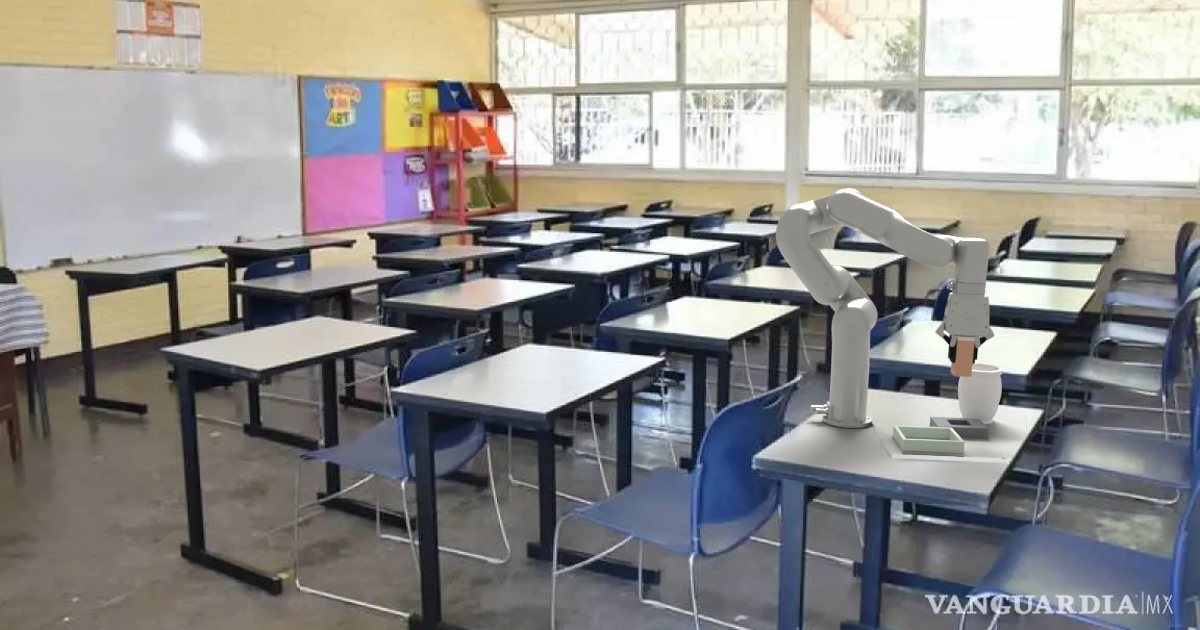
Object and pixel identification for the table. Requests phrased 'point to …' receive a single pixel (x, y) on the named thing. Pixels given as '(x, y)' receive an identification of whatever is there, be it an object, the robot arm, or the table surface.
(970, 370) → the plug
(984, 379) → the jar
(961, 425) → the grey block
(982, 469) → the table surface
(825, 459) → the table surface
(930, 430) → the tray
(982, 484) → the table surface
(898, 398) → the table surface
